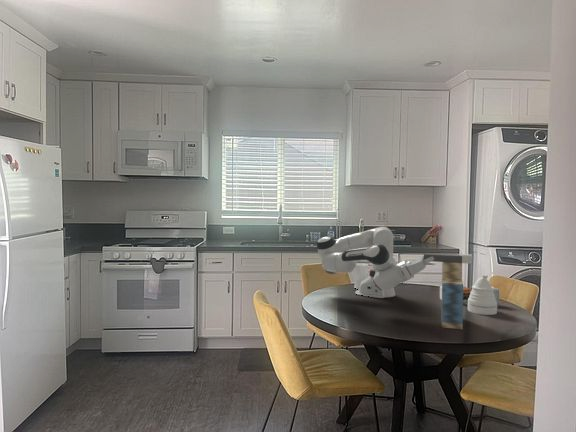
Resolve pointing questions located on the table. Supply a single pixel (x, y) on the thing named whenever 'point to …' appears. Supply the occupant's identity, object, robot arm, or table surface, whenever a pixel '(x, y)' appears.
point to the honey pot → (482, 298)
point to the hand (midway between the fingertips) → (433, 256)
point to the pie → (466, 292)
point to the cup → (360, 273)
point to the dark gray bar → (451, 258)
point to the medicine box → (496, 295)
